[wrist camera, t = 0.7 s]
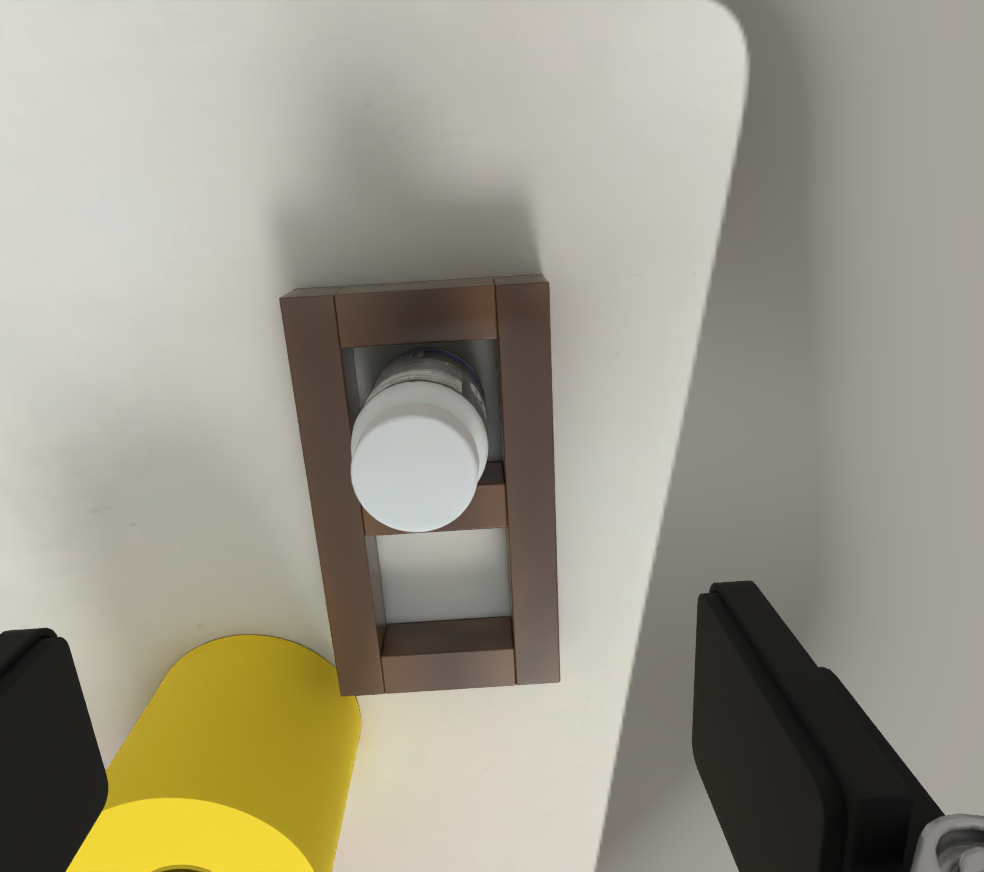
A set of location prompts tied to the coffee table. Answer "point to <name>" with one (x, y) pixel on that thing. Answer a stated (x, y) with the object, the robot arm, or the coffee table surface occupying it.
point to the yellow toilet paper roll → (231, 766)
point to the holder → (496, 503)
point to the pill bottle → (420, 441)
